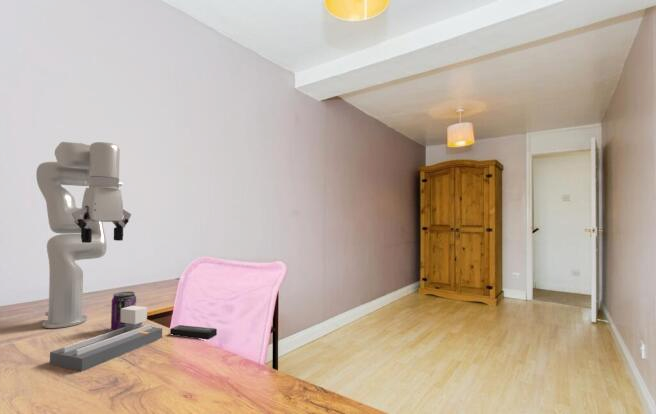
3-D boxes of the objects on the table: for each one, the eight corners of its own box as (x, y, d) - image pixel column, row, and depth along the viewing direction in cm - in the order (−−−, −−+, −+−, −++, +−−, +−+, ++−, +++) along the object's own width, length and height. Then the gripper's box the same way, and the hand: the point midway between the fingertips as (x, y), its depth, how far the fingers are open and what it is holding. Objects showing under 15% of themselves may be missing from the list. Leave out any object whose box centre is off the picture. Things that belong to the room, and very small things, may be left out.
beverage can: (124, 333, 108) (124, 296, 108) (105, 332, 109) (106, 295, 110) (140, 326, 115) (141, 291, 115) (123, 325, 116) (123, 290, 117)
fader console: (49, 364, 85) (50, 347, 85) (133, 333, 108) (133, 320, 108) (81, 371, 81) (82, 353, 81) (162, 338, 104) (162, 324, 104)
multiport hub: (208, 340, 103) (208, 333, 103) (169, 336, 107) (169, 328, 107) (217, 335, 107) (217, 328, 107) (179, 331, 111) (179, 324, 111)
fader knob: (120, 331, 100) (120, 308, 101) (132, 327, 104) (132, 305, 104) (135, 334, 98) (135, 310, 98) (146, 330, 102) (147, 307, 102)
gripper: (121, 187, 110) (120, 239, 109) (64, 181, 94) (63, 243, 93) (138, 186, 107) (137, 239, 107) (83, 180, 91) (81, 243, 90)
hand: (103, 241), depth 100 cm, fingers open, 9 cm apart
